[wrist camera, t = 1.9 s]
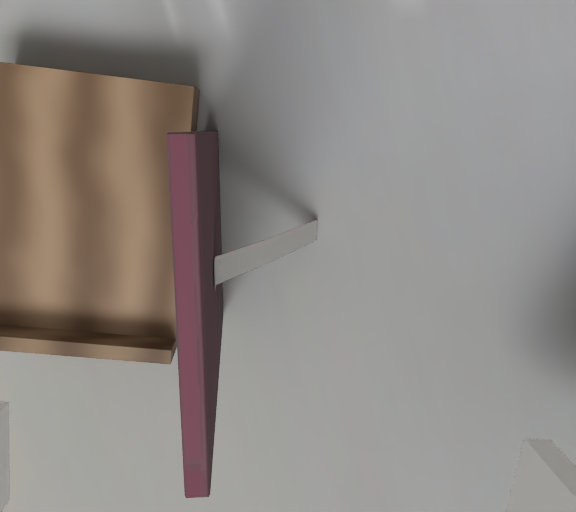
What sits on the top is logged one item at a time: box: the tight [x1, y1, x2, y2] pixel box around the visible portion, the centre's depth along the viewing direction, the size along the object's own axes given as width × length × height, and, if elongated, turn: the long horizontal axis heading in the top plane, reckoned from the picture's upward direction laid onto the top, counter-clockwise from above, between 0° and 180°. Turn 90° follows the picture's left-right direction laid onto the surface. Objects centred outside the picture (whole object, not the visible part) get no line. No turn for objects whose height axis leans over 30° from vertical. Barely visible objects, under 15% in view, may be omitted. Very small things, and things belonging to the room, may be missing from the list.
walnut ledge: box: [0, 62, 199, 364], centre depth 43 cm, size 15×22×6 cm
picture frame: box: [167, 131, 318, 498], centre depth 35 cm, size 17×10×25 cm, turn 0°
